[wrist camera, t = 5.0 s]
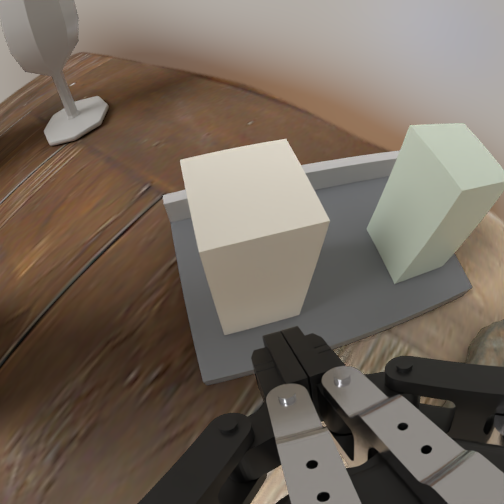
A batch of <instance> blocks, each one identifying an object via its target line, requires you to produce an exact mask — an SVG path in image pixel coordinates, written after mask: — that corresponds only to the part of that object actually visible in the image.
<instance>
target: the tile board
mask: <svg viewBox="0 0 504 504" xmlns="http://www.w3.org/2000/svg"><path fill="white" fill-rule="evenodd" d="M399 152H400V151H393V152H385V153H377V154H370V155H363V156H356V157H349V158H342V159H336V160H330V161H324V162H318V163H312V164H306V165H301V166H302V168H303V170H304V172H305V174H306V176H307V177H308V179H309V181H310V183H311V185H312V187H313V189H314V191H315V192H316V194H317V196H318V198H319V200H320V202H321V204H322V206H323V208H324V210H325V212H326V214H327V216H328V218H329V220H330V223H329V226H328V229H327V232H326V236H325V239H324V242H323V245H322V248H321V251H320V255H319V258H318V261H317V264H316V267H315V270H314V273H313V276H312V279H311V282H310V285H309V288H308V291H307V294H306V297H305V300H304V303H303V305H302V308H301V311H300V314H299V315H297V316H294V317H290V318H287V319H283V320H280V321H276V322H273V323H269V324H265V325H262V326H258V327H254V328H251V329H247V330H243V331H239V332H235V333H232V334H228V335H224V332H223V329H222V326H221V323H220V320H219V317H218V313H217V310H216V307H215V304H214V301H213V297H212V294H211V291H210V288H209V284H208V281H207V278H206V274H205V271H204V268H203V264H202V261H201V258H200V254H199V250H198V246H197V241H196V237H195V232H194V227H193V223H192V218H191V213H190V209H189V204H188V199H187V194H186V190H182V191H178V192H174V193H170V194H166V195H163V201H164V206H165V208H166V211H167V214H168V217H169V220H170V223H171V229H172V235H173V241H174V247H175V252H176V258H177V263H178V269H179V274H180V280H181V285H182V290H183V295H184V300H185V305H186V310H187V314H188V319H189V324H190V328H191V333H192V337H193V342H194V346H195V351H196V355H197V359H198V363H199V367H200V372H201V376H202V380H203V382H204V383H205V384H206V385H211V384H216V383H220V382H224V381H228V380H232V379H236V378H240V377H244V376H247V375H251V374H255V372H254V368H253V364H252V360H251V357H252V354H253V351H254V350H257V349H260V348H264V343H263V337H262V336H263V335H267V334H270V333H274V332H278V331H281V330H284V329H288V328H291V327H295V326H298V327H299V328H300V330H301V331H302V332H303V334H304V335H308V334H311V333H314V334H316V335H318V336H320V337H322V338H323V339H324V340H325V342H326V343H327V345H329V346H330V348H331V350H333V349H336V348H338V347H341V346H344V345H347V344H350V343H352V342H355V341H358V340H361V339H363V338H366V337H369V336H371V335H374V334H376V333H379V332H382V331H384V330H387V329H389V328H392V327H394V326H396V325H399V324H401V323H404V322H406V321H408V320H411V319H413V318H415V317H418V316H420V315H422V314H425V313H427V312H429V311H431V310H434V309H436V308H438V307H440V306H442V305H444V304H447V303H449V302H451V301H453V300H455V299H457V298H459V297H461V296H463V295H464V294H465V293H466V292H467V291H469V290H470V289H471V288H472V285H471V283H470V282H469V280H468V278H467V276H466V274H465V272H464V270H463V268H462V266H461V264H460V263H459V261H458V259H457V257H456V255H455V253H454V254H453V255H452V256H451V257H450V258H449V260H448V261H447V262H446V263H445V264H444V265H443V266H442V267H439V268H437V269H434V270H431V271H429V272H426V273H423V274H421V275H418V276H415V277H413V278H410V279H407V280H404V281H402V282H399V283H396V284H394V282H393V280H392V278H391V276H390V274H389V272H388V270H387V268H386V266H385V264H384V262H383V260H382V258H381V256H380V254H379V252H378V250H377V248H376V246H375V244H374V242H373V240H372V238H371V237H370V235H369V233H368V231H367V227H368V224H369V222H370V220H371V218H372V216H373V213H374V211H375V209H376V207H377V204H378V202H379V200H380V198H381V195H382V193H383V191H384V188H385V186H386V184H387V181H388V179H389V177H390V174H391V172H392V169H393V167H394V164H395V162H396V159H397V157H398V154H399Z"/></svg>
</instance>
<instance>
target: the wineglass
mask: <svg viewBox="0 0 504 504" xmlns="http://www.w3.org/2000/svg"><path fill="white" fill-rule="evenodd" d="M0 19H1V25H2V31H3V34H4V36H5V39H6V42H7V45H8V47H9V50H10V52H11V54H12V56H13V57H14V58H15V60H16V61H17V62H18V64H19V65H20V66H21V67H22V69H23V70H24V71H25V72H29V73H35V74H41V75H47V76H52V79H53V81H54V84H55V87H56V89H57V92H58V94H59V97H60V99H61V101H62V104H63V106H64V109H62V110H61V111H59V112H57V113H56V114H54V115H53V116H52V118H51V120H50V121H49V123H48V125H47V126H46V128H45V130H44V135H45V137H46V139H47V141H48V143H49V145H50V146H54V145H58V144H62V143H67V142H71V141H75V140H77V139H79V138H80V137H82V136H83V135H85V134H87V133H88V132H90V131H91V130H93V129H95V128H96V127H98V126H100V125H101V124H102V121H103V119H104V117H105V115H106V113H107V110H108V105H107V103H105V102H104V101H103V100H102V99H101V98H100V97H99V96H96V97H91V98H87V99H83V100H79V101H75V102H74V100H73V98H72V95H71V93H70V90H69V88H68V85H67V82H66V80H65V77H64V74H63V72H62V70H63V68H64V66H65V64H66V62H67V60H68V59H69V57H70V55H71V53H72V51H73V50H74V48H75V46H76V45H77V43H78V14H77V10H76V6H75V2H74V0H0Z"/></svg>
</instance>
